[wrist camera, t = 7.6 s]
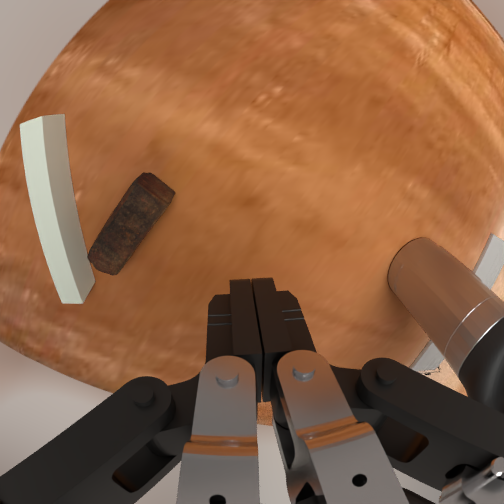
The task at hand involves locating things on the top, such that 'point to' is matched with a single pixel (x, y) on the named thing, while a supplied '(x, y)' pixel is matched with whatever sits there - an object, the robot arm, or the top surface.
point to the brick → (130, 223)
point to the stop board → (56, 206)
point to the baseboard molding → (487, 271)
